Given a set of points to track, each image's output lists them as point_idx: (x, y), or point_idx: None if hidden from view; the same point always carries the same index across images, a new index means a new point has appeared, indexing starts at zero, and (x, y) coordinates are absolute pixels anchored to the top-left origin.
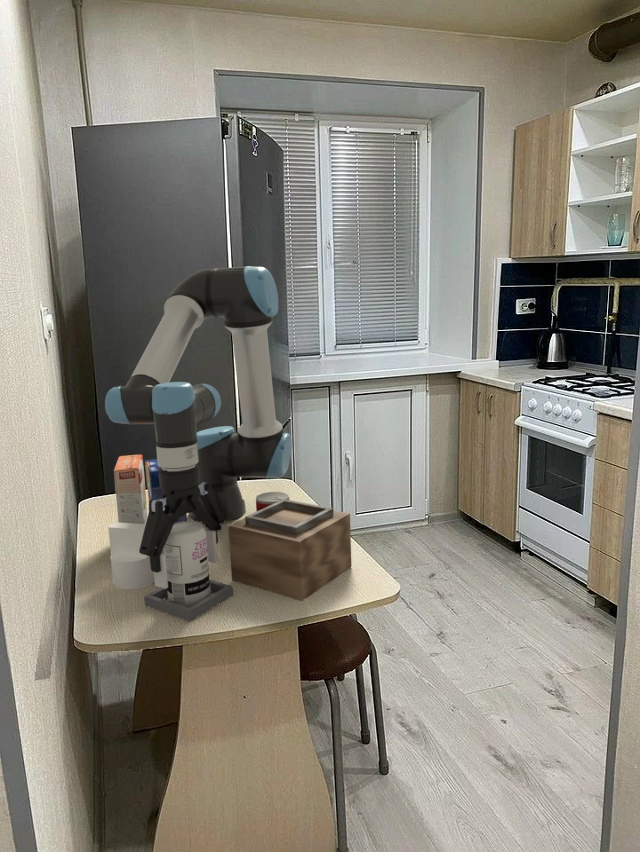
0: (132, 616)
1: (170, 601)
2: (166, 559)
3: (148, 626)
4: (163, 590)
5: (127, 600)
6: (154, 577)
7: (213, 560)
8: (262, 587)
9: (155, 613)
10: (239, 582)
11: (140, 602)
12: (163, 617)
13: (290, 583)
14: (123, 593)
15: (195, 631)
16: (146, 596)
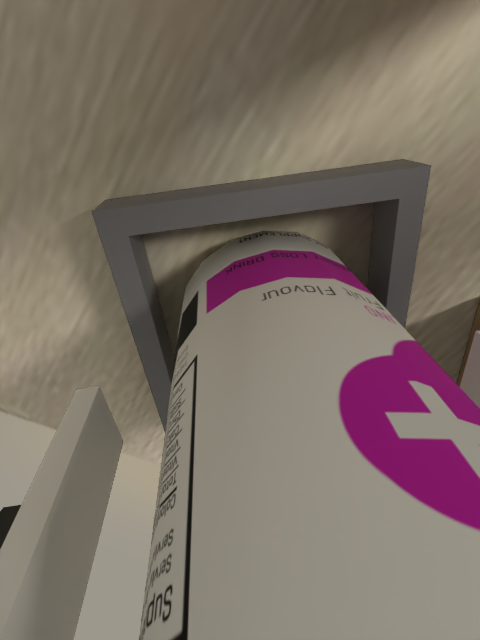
0: (18, 242)
1: (180, 315)
2: (158, 496)
3: (48, 352)
4: (210, 222)
5: (53, 43)
6: (57, 431)
7: (470, 392)
8: None
9: (112, 293)
10: (472, 330)
11: (105, 141)
12: (121, 339)
13: None
14: None
15: (152, 456)
16: (101, 223)
